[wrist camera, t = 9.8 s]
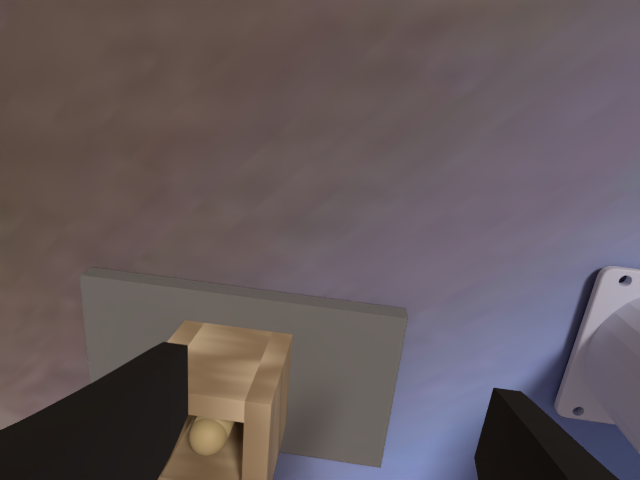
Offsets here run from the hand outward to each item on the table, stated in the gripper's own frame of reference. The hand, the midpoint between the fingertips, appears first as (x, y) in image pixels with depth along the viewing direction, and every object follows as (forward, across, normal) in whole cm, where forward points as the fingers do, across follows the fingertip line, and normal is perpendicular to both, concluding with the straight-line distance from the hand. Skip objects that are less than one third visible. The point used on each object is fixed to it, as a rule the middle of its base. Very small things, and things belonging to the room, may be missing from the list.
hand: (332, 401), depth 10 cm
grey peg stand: (+10, +5, +7) cm, 13 cm away
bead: (+9, +5, +7) cm, 13 cm away
